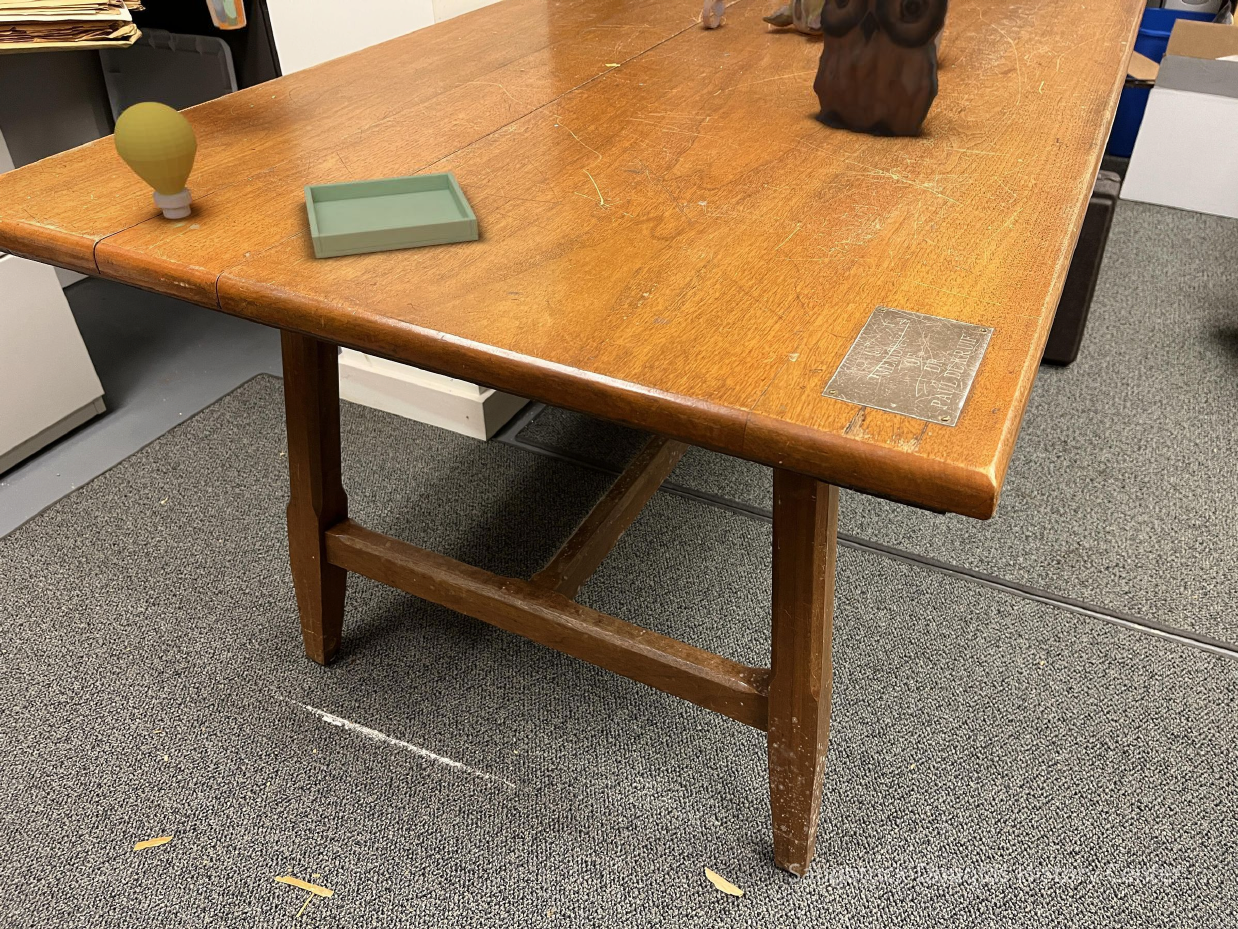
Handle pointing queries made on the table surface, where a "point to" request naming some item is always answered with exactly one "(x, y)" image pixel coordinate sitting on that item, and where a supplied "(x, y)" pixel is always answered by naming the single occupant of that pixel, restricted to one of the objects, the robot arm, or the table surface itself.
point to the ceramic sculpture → (799, 16)
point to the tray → (388, 214)
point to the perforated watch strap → (717, 10)
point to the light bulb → (159, 153)
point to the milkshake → (227, 13)
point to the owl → (878, 64)
